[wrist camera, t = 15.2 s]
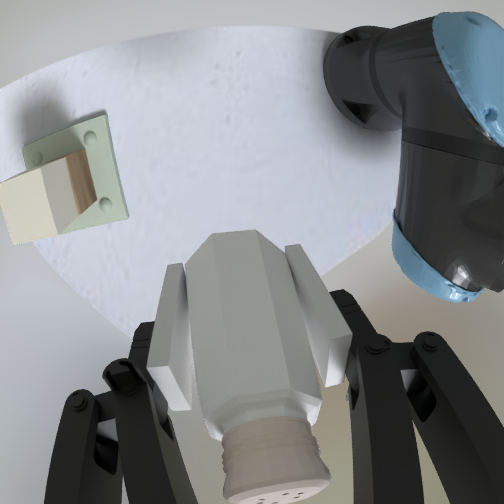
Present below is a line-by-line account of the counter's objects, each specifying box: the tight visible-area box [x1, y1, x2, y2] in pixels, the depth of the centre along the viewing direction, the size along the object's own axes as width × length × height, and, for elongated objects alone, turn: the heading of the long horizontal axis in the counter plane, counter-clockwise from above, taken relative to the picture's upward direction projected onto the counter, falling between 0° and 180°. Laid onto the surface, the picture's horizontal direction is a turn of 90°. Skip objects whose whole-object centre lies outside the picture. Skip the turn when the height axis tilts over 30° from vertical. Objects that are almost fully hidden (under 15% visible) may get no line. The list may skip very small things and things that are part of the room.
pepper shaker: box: [185, 230, 332, 504], centre depth 10 cm, size 5×5×11 cm
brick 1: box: [0, 157, 79, 245], centre depth 24 cm, size 7×7×6 cm
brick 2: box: [37, 149, 98, 215], centre depth 29 cm, size 7×7×6 cm
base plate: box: [22, 115, 129, 234], centre depth 32 cm, size 14×14×1 cm
